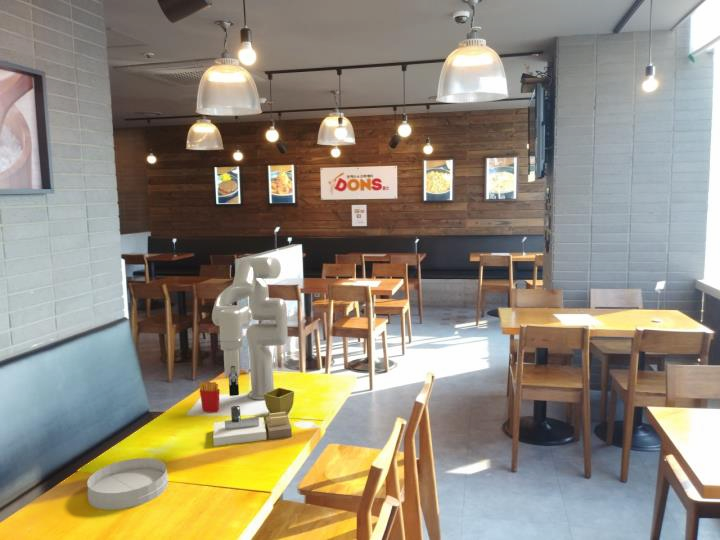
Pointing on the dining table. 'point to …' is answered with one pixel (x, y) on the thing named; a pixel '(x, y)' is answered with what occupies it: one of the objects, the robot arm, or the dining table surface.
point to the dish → (127, 483)
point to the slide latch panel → (254, 430)
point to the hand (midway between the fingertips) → (234, 391)
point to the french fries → (209, 396)
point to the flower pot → (279, 400)
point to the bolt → (240, 420)
